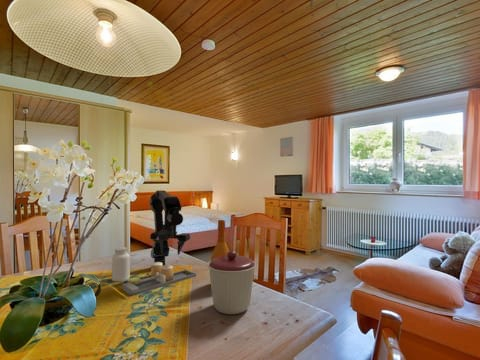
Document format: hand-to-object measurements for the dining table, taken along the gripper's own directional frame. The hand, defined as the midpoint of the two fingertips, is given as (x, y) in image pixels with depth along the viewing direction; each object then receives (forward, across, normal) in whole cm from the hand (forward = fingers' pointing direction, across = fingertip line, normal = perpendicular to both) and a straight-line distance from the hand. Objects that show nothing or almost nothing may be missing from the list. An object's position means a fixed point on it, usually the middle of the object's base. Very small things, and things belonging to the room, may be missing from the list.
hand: (169, 253), depth 128 cm
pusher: (+11, -3, -12) cm, 17 cm away
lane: (+12, 0, -8) cm, 14 cm away
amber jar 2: (+11, +2, -5) cm, 12 cm away
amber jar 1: (+12, -7, 0) cm, 14 cm away
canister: (+11, +37, -24) cm, 45 cm away
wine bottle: (+11, +28, -5) cm, 30 cm away
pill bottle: (+12, -22, -7) cm, 26 cm away
